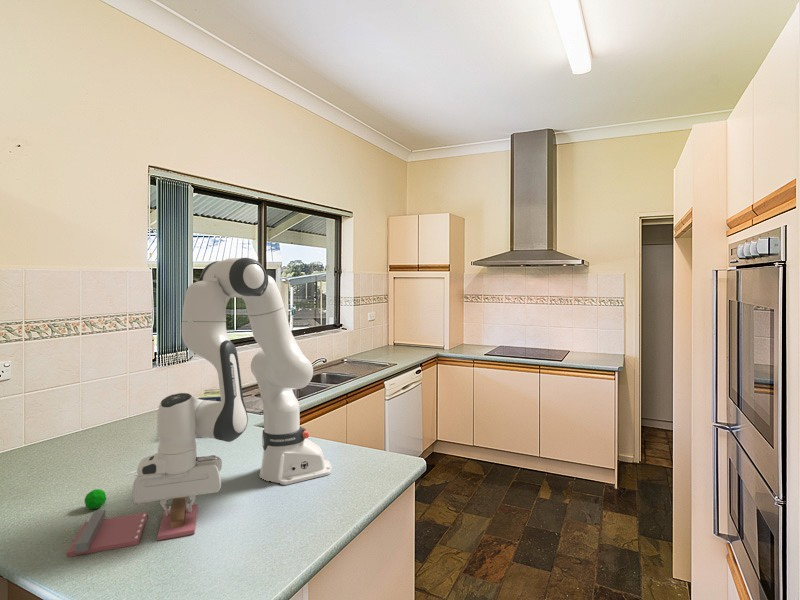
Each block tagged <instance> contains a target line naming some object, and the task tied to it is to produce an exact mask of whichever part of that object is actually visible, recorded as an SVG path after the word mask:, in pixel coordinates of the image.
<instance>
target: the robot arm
mask: <svg viewBox="0 0 800 600" xmlns="http://www.w3.org/2000/svg"><path fill="white" fill-rule="evenodd" d="M239 297H241V299H242V300H243V302H244V303H245V308H246V312H247V317H248V321H249V323H250V328H251V332H252V336H253V339H254V340H255V342H256V343H257V344H258V345H259V347H260V349H261V351H258V352H256V353H255V354H254V355H253V357H252V359H251V361H250V371H251V373H252V375H253V376H254V377H255V379H256V384H257V386H258V389H259V395H260V397H261V402H262V409H263V410H262V411H263V413H262V414H263V430H262V435H261V436H262V437H261V440H262V441H261V443H262V449H263V453H262V454H263V455H262V461H261V467H260V471H259V474H258V476H259V478H260V479H261V478H262V480H263V479H264V480H263V481H265V480H266V481H267V482H269V481H271V482H272V483H278V484H279V483H280V485H283V486H287V485H291V484H296V483H299V482H304V481H307V480H312V479H316V478H320V477H325V476H328V475H330V474H331V473H332V468H333V467H332V464H331V462H330V461H329V460H328V459H327V458H325V456H324V452H323V450H322V448H321V446H319V445H318V444H316V443H315V442H314V441H312V440H310V439H309V437H310V433H309V431H308V430H307V429H306V428H305V427H303V426H300V420H301V419H300V417H301V416H300V415H301V413H300V404H299V403H300V402H299V400H298V399H297V397H296V395H295V393H294V390H299V389H300V390H301V389H303V388H305V387H307V386H308V385H309V384H310V382H311V380H313V379H312V378H313V376H314V367H313V364H312V362H311V361H310V360H309V359H308V358H307V357H306V356H305V355H304V353H303V351H302V350H301V348H300V346H299V344H298V342H297V341H296V339H295V337H294V334H293V333H292V332H293V331H292V330H291V326H290V324H289V320H288V315H287V313H286V308H285V305H284V300H283V297H282V294H281V292H280V290H279V287H278V285H277V283H276V281H275V278H273V277H272V276H270V275H268V274H267V272H266V269H265V267H264V266H263V265H262V263H261V262H260V261H258V260H256V259H253V258H249V257H241V258H240V257H236V258H235V257H232V258H227V259H226V258H225V259H223V260H216V261H213V262H210V263H209V264H207V265H206V266H205V267H204V268H203V269H202V271H201V273H200V276H199V279H198V280H197V281H195V282H193V283H191V284H190V285H189V286H188V288H187V289H186V291H185V296H184V300H183V306H182V316H181V338H182V341H183V343H184V346H185V347H186V348H187V349H188V350H189V351H190V352H192V353H193V354H195V355H197V356H199V357H201V358H203V359H205V360H206V361H207V362H209V363H210V364H211V365H213V367H214V368H215V371H216V372H217V376H218V377H217V378H218V384H219V389H220V395H221V402H219V401H210V400H201V399H198V398H196V397H193V395H192V394H190V393H187V392H186V393H185V392H180V393H179V392H178V393H175V394H174V393H173V394H170V395H168V396H166V397H164V398H163V399H161V401H160V403H159V406H158V410H157V416H156V418H157V419H156V431H157V432H156V434H157V437H158V442H159V443H158V447H157V452H156V453H154V454H152V455H148V456H146V457H144V458H142V459H141V461H140V462H139V463H138V464H137V468H136V470H137V473H136V474H137V475H136V476H135V479H134V480H133V484H132V493H131V501H132V502H133V503H134V504H135V505H138V504H145V503H146V504H147V503H151V502H153V503H154V502H158V501H159V504H160V506H161V507H162V509H163V510H165V514H166V516H170V508H171V506H170V505H169V504H168V503H167V502H168V500H171V499H172V500H173V499H174V498H180V497H186V498H187V497H189V500H190V501H189V503H187V504H185V513H191V512H192V505H194V503H195V501H196V499H197V496H200V495H205V494H207V495H208V494H212V493H213V494H214V493H218V492H219V491H220V489H221V487H222V480H221V479H222V477H221V471H222V469H223V461H222V458H221V457H220V456H216V455H214V454H212V455H207V456H205V455H204V456H197V455H198V454H197V442H196V439H197V438H198V437H199V438H205V439H213V440H214V439H215V440H218V441H221V442H222V441H223V442H227V443H231V442H233V441H235V440H237V439H238V438H239V437H241V436H242V434H243V433H244V432H245V430H246V429H247V427H248V421H249V416H248V411H247V407H246V405H245V400H244V396H243V393H244V392H243V388H242V387H243V386H242V377H241V370H240V363H239V356H238V352H237V351H238V350H237V348H236V346H235V344H234V343H233V342H232V341H231V339H230V338H229V334H228V331H227V305H228V303H229V301H230V300H231V299H232V298H239ZM266 481H265V482H266Z"/></svg>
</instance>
